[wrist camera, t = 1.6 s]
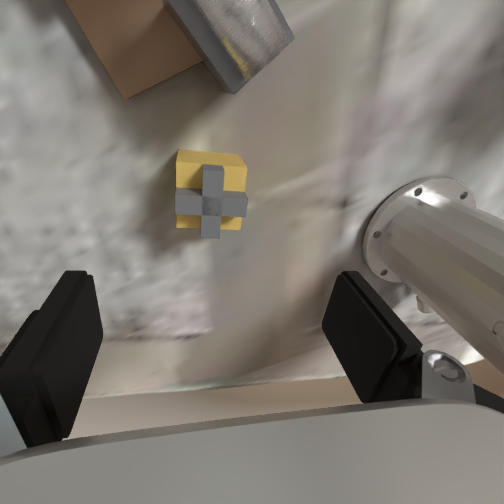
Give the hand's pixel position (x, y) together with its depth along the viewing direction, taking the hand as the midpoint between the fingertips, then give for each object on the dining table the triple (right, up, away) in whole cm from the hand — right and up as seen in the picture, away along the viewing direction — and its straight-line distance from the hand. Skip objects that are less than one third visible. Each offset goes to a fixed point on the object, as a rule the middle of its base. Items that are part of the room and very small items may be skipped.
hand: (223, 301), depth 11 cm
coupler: (-3, +8, +14) cm, 16 cm away
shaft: (-1, +18, +8) cm, 20 cm away
